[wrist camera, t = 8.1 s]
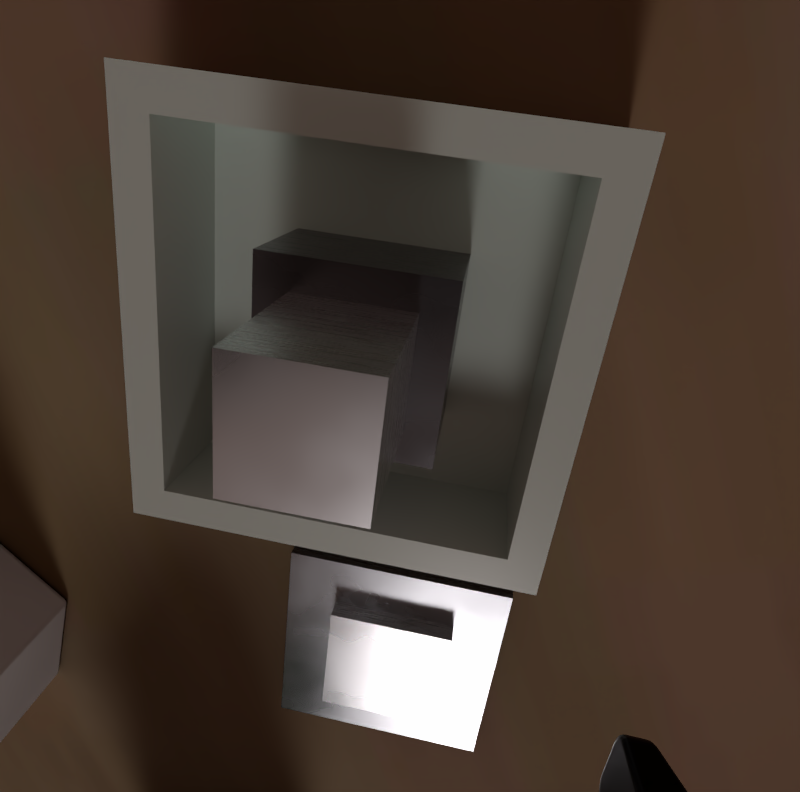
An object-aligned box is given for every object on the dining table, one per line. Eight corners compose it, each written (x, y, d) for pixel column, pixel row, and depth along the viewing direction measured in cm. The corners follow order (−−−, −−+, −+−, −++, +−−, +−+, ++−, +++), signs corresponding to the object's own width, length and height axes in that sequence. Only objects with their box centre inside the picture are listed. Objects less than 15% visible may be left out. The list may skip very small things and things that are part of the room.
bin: (628, 133, 16) (665, 132, 12) (530, 514, 21) (536, 595, 17) (189, 74, 17) (103, 56, 13) (195, 449, 22) (133, 512, 18)
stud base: (512, 583, 22) (513, 612, 21) (473, 733, 25) (472, 768, 24) (298, 539, 23) (285, 565, 21) (287, 691, 26) (275, 722, 25)
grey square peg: (470, 254, 17) (448, 336, 10) (444, 413, 19) (410, 574, 12) (298, 227, 17) (161, 289, 10) (290, 386, 20) (171, 527, 13)
